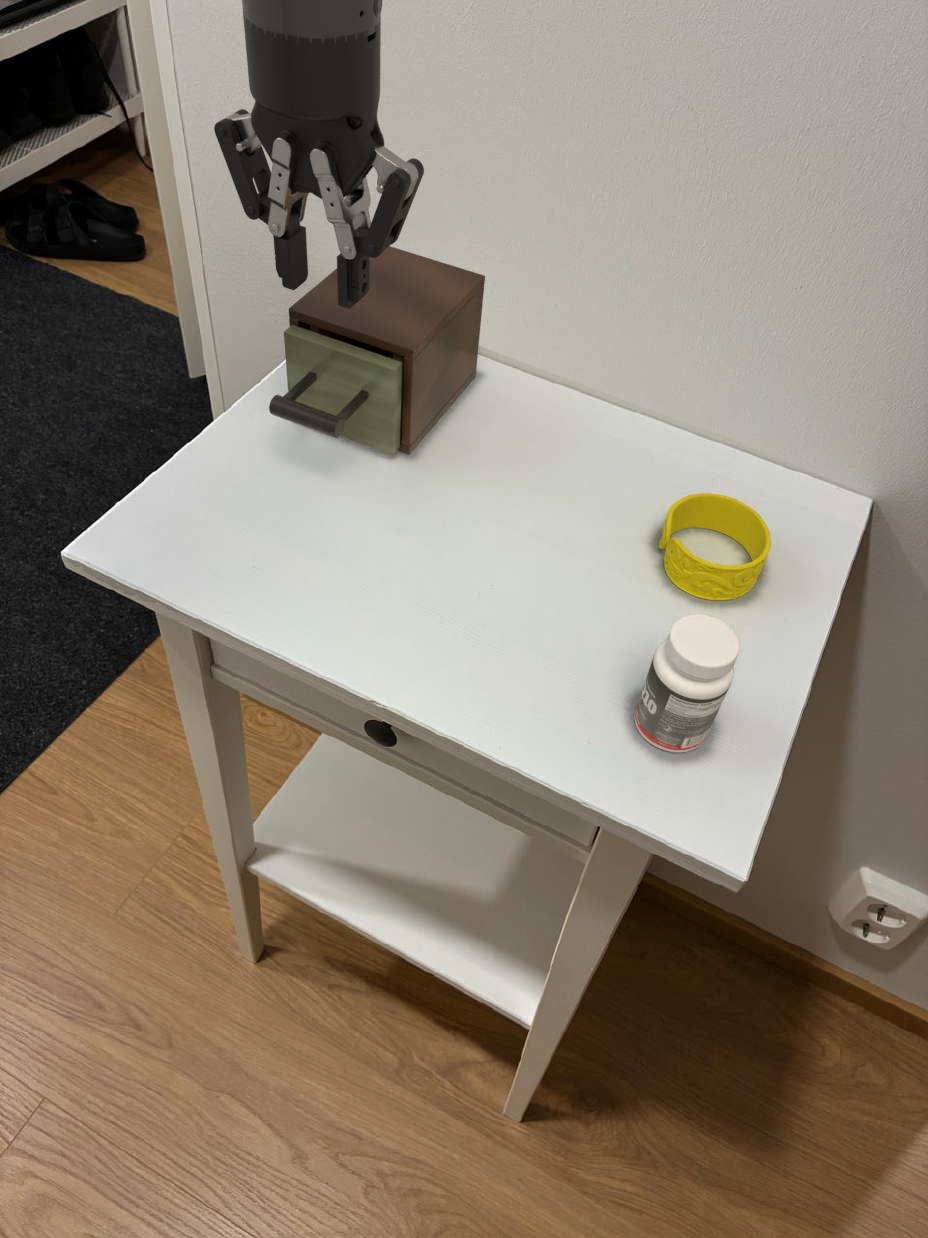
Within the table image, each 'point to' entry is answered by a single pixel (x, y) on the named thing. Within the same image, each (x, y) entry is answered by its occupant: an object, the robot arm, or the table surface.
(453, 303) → the cabinet
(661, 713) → the pill bottle
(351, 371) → the drawer
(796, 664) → the table surface
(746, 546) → the bracelet
